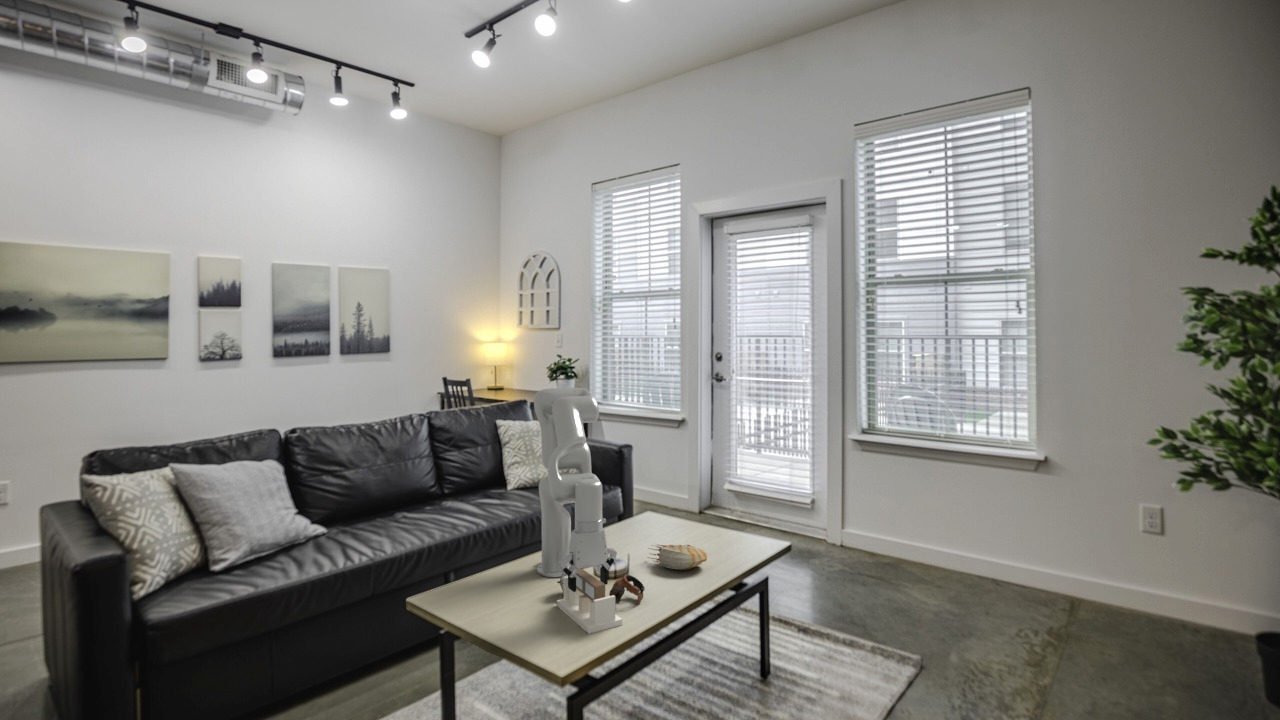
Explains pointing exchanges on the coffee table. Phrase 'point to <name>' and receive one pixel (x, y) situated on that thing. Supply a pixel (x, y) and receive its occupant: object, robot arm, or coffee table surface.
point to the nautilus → (680, 556)
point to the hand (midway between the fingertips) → (588, 586)
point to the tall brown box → (589, 585)
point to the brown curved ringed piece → (624, 583)
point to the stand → (589, 610)
